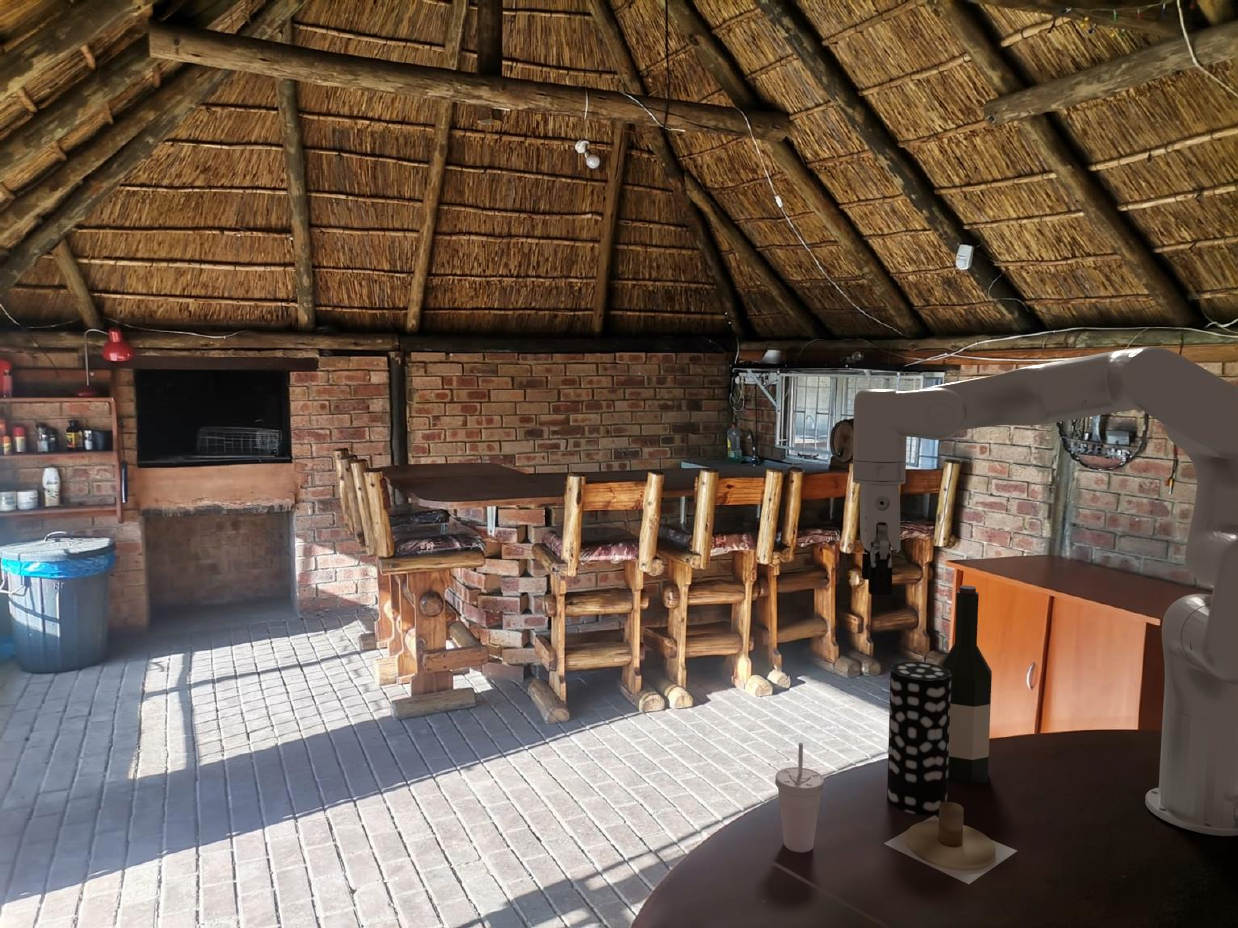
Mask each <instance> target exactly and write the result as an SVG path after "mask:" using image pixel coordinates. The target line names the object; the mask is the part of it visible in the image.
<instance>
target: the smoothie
mask: <svg viewBox="0 0 1238 928" xmlns="http://www.w3.org/2000/svg"><path fill="white" fill-rule="evenodd" d="M797 757H798V758H797V759H798V763H797V764H798V766H789V767H785V768H783V769H780V770H778V771H777V772H776V774H775V780H774V784H775V786H776V787H777V792H778V798H779V800H778V801H779V809H780V810H779V811H780V816H781V818H780V819H781V826H782V828H781V829H782V837H783V845H784V847H785V848H787V849H788V850H789V851H791V852H796V853H807V852H811V851H812V850H813V848H814V845H815V844H814V842H815V837H816V830H817V829H816V828H817V822H818V817H819V816H818V815H819V810H820V803H821V796H822V792H823V791H824V789H825V778H824V776H823V775H822V774H820V773H819V772H818V771H816V770H814V769H810V768H807V767H803V765H804V764H803V762H804V760H803V759H804V758H803V757H804V744H803V742H798V755H797Z"/></svg>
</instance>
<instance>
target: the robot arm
mask: <svg viewBox="0 0 1238 928" xmlns="http://www.w3.org/2000/svg"><path fill="white" fill-rule="evenodd" d="M853 403H854V404H853V442H852V443H853V447H852V452H853V453H852V483H855V484H859V485H860V486H859V487H860V490H859V491H860V492H859V530H860V531H859V532H860V541H861V544H862V546H863V549H862V550H863V553H862V554H861V579H862V580H864V581H868V594H869V595H870V596H873V595H875V596H891V595H892V594H893V569H894V568H893V562H892V550H893V551H894V553H899V552H900V551H901V497H900V486H899V485H904V484H906V477H907V476H906V470H907V439H908V438H907V437H909V438H917V439H924V440H929V441H930V440H931V441H943V440H947V439H950V438H952V437H954V436H956V435H957V434H959V433H960V432H961V431H966V430H967V431H968V430H972V429H979V428H986V427H987V428H989V427H996V426H997V427H998V426H1023V427H1025V426H1026V427H1031V426H1040V425H1041V426H1043V425H1050V424H1051V425H1052V424H1055V423H1061V422H1068V421H1073V420H1079V419H1085V418H1089V417H1091V418H1092V417H1097V416H1103V415H1109V414H1115V413H1121V412H1128V411H1142V412H1144V413H1145V414H1147V415H1149V416H1150V417H1151V418H1153V419H1155V420H1156V421H1158V422H1159V423H1161V424H1163V429H1164V431H1165V434H1166V436H1167V437H1168V439H1169V441H1170V442H1172V444H1174V445H1175V446H1176V447H1177V448H1179V449H1181V450H1182V451H1183V452H1184V453H1185V454H1186V456H1187V457H1188V458H1189V460H1190V461H1191V463H1192V466H1193V468H1194V471H1195V476H1196V490H1195V491H1196V492H1195V499H1194V505H1193V511H1192V515H1191V522H1190V525H1189V531H1188V536H1187V541H1186V545H1185V552H1184V562H1185V566H1186V568H1187V570H1188V571H1189V573H1190V575H1191V576H1193V577H1194V579H1196V580H1198V581H1199V582H1201V583H1202V584H1203V585H1206V586H1208V587H1210V588H1211V589H1212V594H1207V593H1194V594H1193V593H1192V594H1188V595H1184V596H1182V597H1180V598H1179V599H1177V600H1175V601H1173V602H1172V603H1171V605H1169V606H1168V608H1167V610H1166V611H1165V614H1164V616H1163V619H1162V622H1161V623H1162V624H1161V640H1162V641H1161V642H1162V650H1163V653H1162V654H1163V659H1164V660H1163V662H1164V687H1163V688H1164V691H1163V692H1164V693H1163V707H1162V708H1163V709H1162V726H1161V742H1160V744H1161V745H1160V759H1159V779H1158V781H1159V782H1158V787H1154V788H1152V789H1150V790H1149V791H1148V792H1146V794H1145V805H1146V808H1147V809H1148V810H1149V811H1150V812H1151V813H1152V814H1153V815H1155V816H1156V817H1158V818H1159V819H1161V820H1162V821H1165V822H1166V823H1169V824H1172V825H1173V826H1175V827H1176V826H1177V827H1179V828H1182V829H1185V830H1188V831H1191V832H1195V833H1199V834H1204V835H1209V836H1220V837H1234V836H1238V386H1236V385H1234V384H1233V383H1231V382H1228V381H1227V380H1225V379H1224V378H1222V377H1220V376H1218V375H1217V374H1215V373H1214V372H1211V371H1210V370H1208V369H1206V368H1205V367H1203V366H1201V365H1199V364H1197V363H1195V362H1193V361H1192V360H1190V359H1188V358H1186V357H1185V356H1183V355H1181V354H1179V353H1177V352H1175V351H1173V350H1170V349H1169V348H1164V347H1161V346H1142V347H1134V348H1126V349H1120V350H1119V349H1118V350H1114V351H1107V352H1103V353H1102V352H1101V353H1096V354H1092V355H1086V356H1080V357H1073V358H1069V359H1065V360H1057V361H1054V362H1053V361H1051V362H1047V363H1039V364H1036V365H1030V366H1026V367H1020V368H1017V369H1013V370H1010V371H1005V372H1003V373H998V374H994V375H993V374H992V375H989V376H983V377H978V378H972V379H965V380H961V381H955V382H949V383H943V384H939V385H932V386H927V387H923V388H920V389H917V390H916V389H915V390H905V391H904V390H901V389H897V388H895V389H892V388H870V389H869V388H868V389H866V388H865V389H862V390H859V391H858V392H857V393H856V394H855V396H854V402H853Z"/></svg>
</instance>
